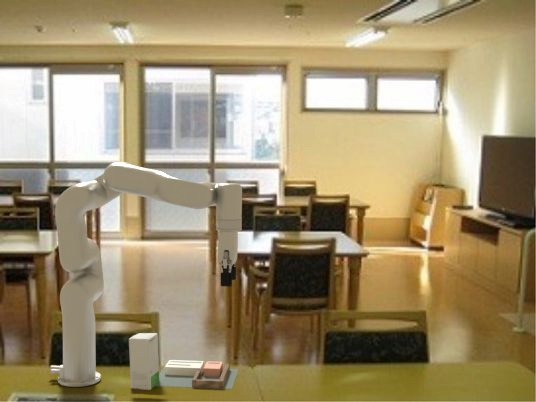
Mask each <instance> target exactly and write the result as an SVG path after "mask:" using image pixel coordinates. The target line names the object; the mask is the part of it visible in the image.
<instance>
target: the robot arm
mask: <svg viewBox="0 0 536 402" xmlns="http://www.w3.org/2000/svg"><path fill="white" fill-rule="evenodd" d="M123 194H126V195H127V194H128V195H133V196H138V197H142V198H146V199H150V200H151V199H152V200H155V201H158V202H162V203H163V202H164V203H167V204H170V205H174V206H179V207H183V208H188V209H194V210H204V209H206V208H209V207H214V206H215V231H218V239H217V241H218V242H217V262H216V263H217V264H218V265H219V266H220V265H221V269H220V286H221V287H232V286H233V281H235V280H236V279H237V266H236V262H237V260H238V248H239V247H238V246H239V245H238V243H239V239H238V238H239V237H238V236H239V234H238V232H241V231H242V230H243V228H242V227H243V226H242V225H243V224H242V222H243V219H242V218H243V214H242V213H243V187H242V185H241V184H240V183H236V182H221V183H218V182H217V183H216V182H212V181H211V182H209V181H200V182H195V181H190V180H184V179H180V178H177V177H173V176H170V175H168V174H166V173H165V172H163V171H161V170H157V169H152V168H147V167H143V166H142V167H141V166H137V165H133V164H132V163H130V162H127V161H119V162H118V161H117V162H116V161H115V162H113V163H112V162H111V163H110V164H108V166H106V167H105V169H104V171H103V173H102V174H100V175H99V176H97V177H95V178H94V179H92V180H90V181H85V182H80V183H79V182H78V183H76V184H73V185H71V186H69V187H67V188H66V189H65V190H64V191H63V192H61V194H60V195H59V196H58V198H57V201H56V203H55V207H54V213H55V214H54V216H55V223H56V224H55V225H56V233H57V246H58V253H59V262H60V265H61V267H62V269H63V270H64V271H66V272H68V273H71V274H72V278H70V279H68V280H66V282H65V283H64V284H63V285H62V287H61V290H60V294H59V304H60V308H61V309H60V310H61V318H62V325H61V326H62V364H60V365H53V364H52V365H50V368H49V371H50V374H51V375H57V374H58V377H57V383H58V385H61V386H64V387H69V388H77V387H80V388H82V387H88V386H91V385H94V384H97V383H98V382H100V381H101V378H102V374H101V373H100V372H98V371H96V368H97V367H96V363H97V362H96V359H97V358H96V316H95V314H96V313H95V309H94V308H95V307H94V302H96V301H97V300H99V298H100V297H101V296H102V294H103V292H104V287H105V284H104V273H103V272H104V271H103V265H102V264H103V263H102V254H101V250H100V248H99V246H98V244H97V243H96V242H95V240H93V239H91V238H89V237H88V231H87V230H88V229H87V223H86V220H85V217H84V216H85V213H86V212H89V211H92V210H97V209H99V208H101V207H103V206H105V205H106V204H109V203H110V202H111V201H113V200H115V199H116V198H118V197H120V196H122V195H123Z"/></svg>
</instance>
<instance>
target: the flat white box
mask: <svg viewBox="0 0 536 402" xmlns="http://www.w3.org/2000/svg"><path fill="white" fill-rule="evenodd" d="M204 366H205V361H204V360H180V359H179V360H177V359H170V360H168V361H167V363H166V364H165V375H183V376H195V374H196V372H197V370H201V374H202V372H203V368H204Z"/></svg>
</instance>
